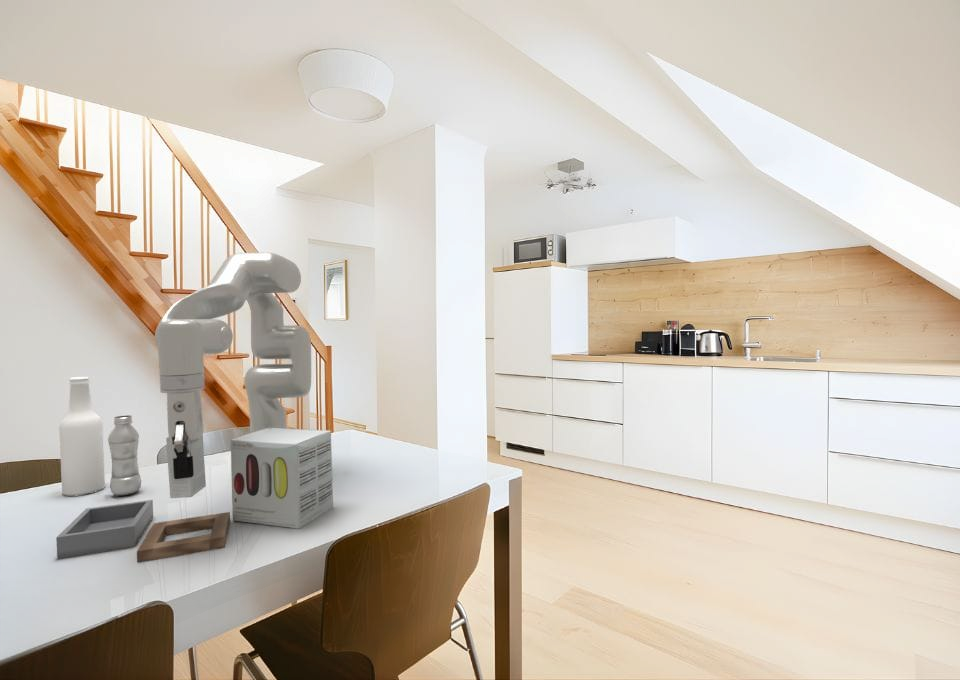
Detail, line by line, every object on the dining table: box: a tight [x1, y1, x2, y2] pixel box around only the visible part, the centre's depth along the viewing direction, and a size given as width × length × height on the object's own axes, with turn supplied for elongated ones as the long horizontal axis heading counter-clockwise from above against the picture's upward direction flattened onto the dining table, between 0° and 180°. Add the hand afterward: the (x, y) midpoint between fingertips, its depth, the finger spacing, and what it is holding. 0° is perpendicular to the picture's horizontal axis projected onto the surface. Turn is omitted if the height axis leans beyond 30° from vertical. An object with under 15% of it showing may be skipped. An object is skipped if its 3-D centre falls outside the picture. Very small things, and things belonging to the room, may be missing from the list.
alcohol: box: [58, 376, 106, 497], centre depth 129 cm, size 9×9×30 cm
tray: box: [56, 499, 154, 560], centre depth 100 cm, size 12×16×4 cm
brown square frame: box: [136, 511, 231, 563], centre depth 98 cm, size 14×14×2 cm
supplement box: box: [230, 428, 334, 530], centre depth 110 cm, size 17×13×18 cm
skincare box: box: [165, 433, 207, 499], centre depth 98 cm, size 6×4×12 cm
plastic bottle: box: [107, 415, 142, 496], centre depth 126 cm, size 6×7×20 cm
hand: (187, 471), depth 98 cm, fingers closed on skincare box, 6 cm apart
